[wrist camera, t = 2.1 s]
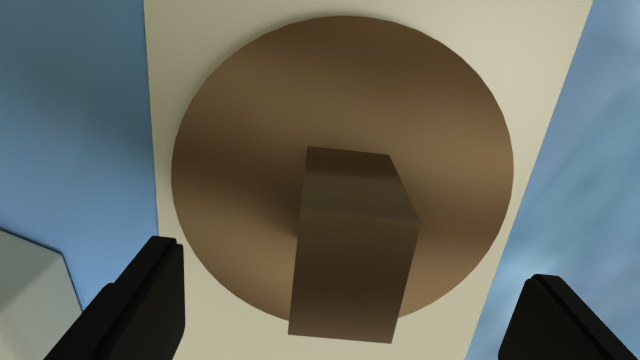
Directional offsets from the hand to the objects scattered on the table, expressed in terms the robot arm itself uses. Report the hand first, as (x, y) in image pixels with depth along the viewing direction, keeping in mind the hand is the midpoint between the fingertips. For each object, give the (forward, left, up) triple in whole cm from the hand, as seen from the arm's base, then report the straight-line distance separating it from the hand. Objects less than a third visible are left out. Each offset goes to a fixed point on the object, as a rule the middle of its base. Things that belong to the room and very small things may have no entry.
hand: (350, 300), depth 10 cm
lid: (-1, 0, -6) cm, 6 cm away
